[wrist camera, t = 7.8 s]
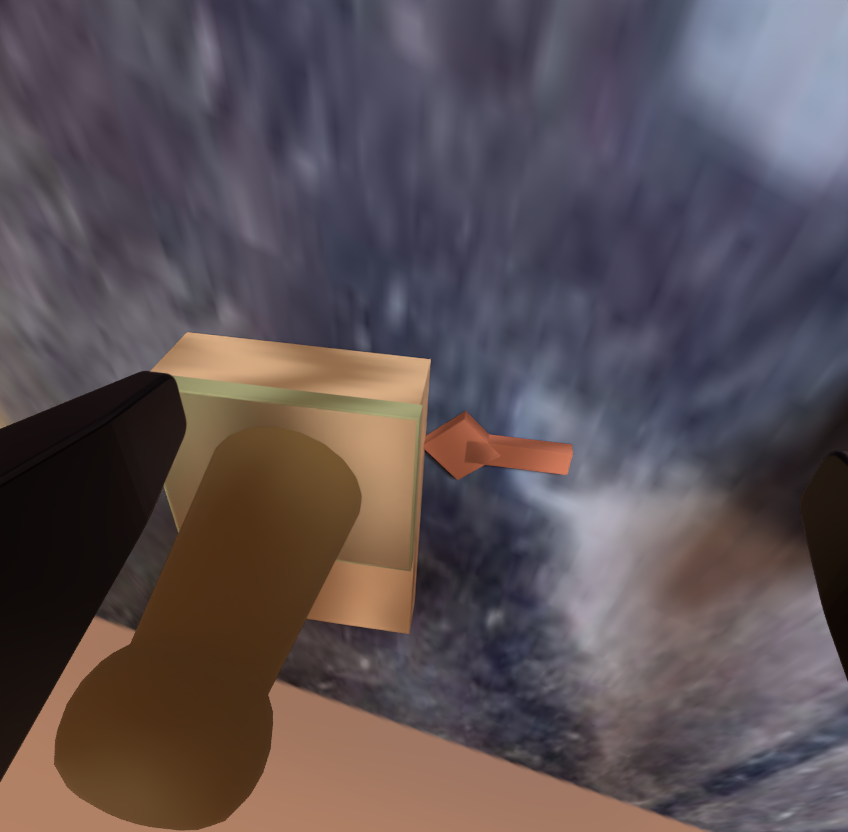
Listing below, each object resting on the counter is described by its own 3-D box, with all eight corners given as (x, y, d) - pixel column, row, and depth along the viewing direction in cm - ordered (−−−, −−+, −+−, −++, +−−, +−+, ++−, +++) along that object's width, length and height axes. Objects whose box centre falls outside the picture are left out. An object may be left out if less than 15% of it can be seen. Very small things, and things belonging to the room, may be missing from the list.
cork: (314, 561, 25) (201, 874, 16) (186, 490, 23) (-17, 795, 14) (392, 486, 21) (304, 828, 13) (249, 397, 20) (36, 720, 11)
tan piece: (590, 374, 22) (602, 440, 19) (525, 617, 32) (525, 687, 29) (184, 329, 23) (131, 384, 20) (241, 577, 33) (211, 639, 30)
